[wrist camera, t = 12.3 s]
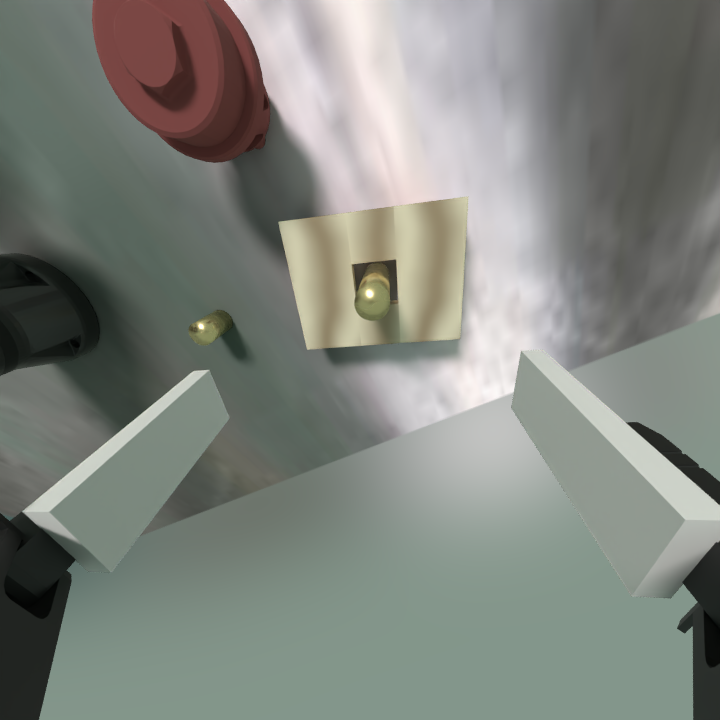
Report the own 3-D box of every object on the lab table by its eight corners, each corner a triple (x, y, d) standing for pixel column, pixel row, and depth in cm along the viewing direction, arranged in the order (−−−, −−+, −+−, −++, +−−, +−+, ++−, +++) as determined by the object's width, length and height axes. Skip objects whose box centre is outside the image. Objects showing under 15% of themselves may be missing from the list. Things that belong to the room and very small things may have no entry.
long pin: (366, 288, 34) (356, 322, 24) (363, 263, 33) (352, 287, 22) (390, 286, 34) (391, 319, 23) (388, 260, 33) (388, 284, 22)
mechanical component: (245, 8, 24) (310, 133, 28) (170, 90, 27) (238, 192, 31) (127, -162, 13) (261, 81, 17) (25, 7, 16) (157, 182, 20)
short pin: (216, 331, 39) (194, 346, 35) (208, 310, 38) (184, 323, 33) (235, 329, 39) (216, 344, 34) (228, 309, 37) (207, 321, 33)
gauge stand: (316, 333, 38) (307, 349, 33) (293, 220, 31) (278, 221, 27) (451, 323, 35) (460, 339, 31) (456, 198, 29) (468, 196, 25)
